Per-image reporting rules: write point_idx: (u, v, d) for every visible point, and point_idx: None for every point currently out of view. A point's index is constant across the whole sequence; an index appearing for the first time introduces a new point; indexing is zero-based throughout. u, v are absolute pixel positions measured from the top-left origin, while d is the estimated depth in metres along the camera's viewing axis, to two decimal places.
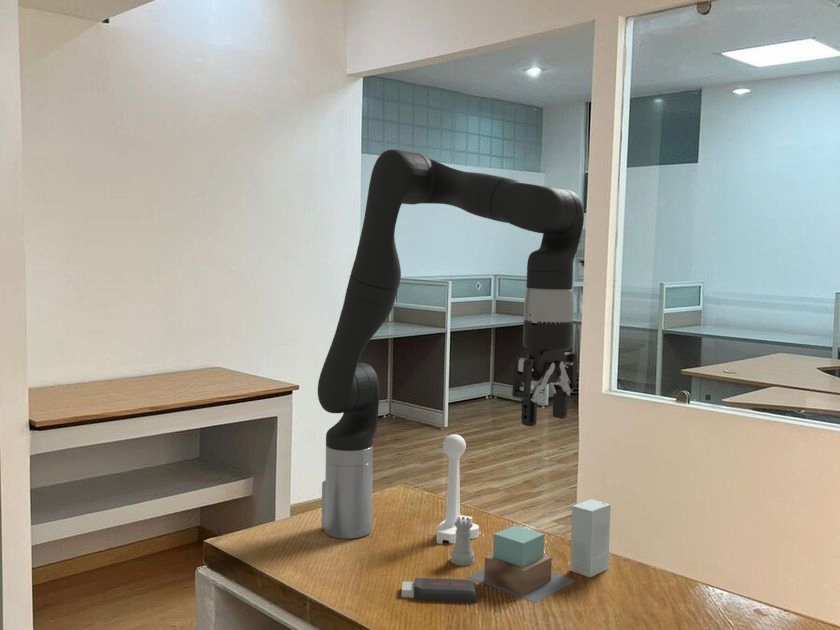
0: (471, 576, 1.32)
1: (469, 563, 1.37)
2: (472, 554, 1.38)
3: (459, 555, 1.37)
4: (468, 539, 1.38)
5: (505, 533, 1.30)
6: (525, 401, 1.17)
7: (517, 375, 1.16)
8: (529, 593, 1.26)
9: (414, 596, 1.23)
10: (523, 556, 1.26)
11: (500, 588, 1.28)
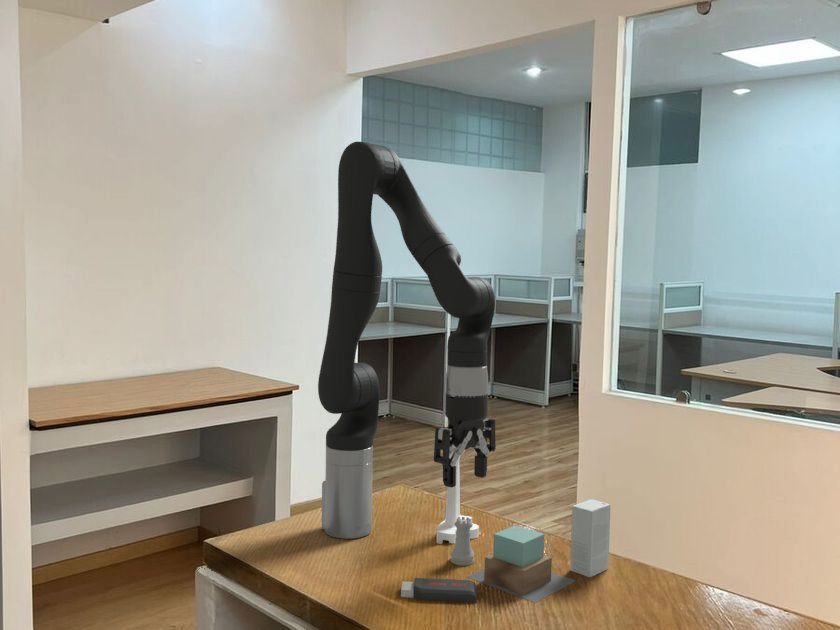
0: (471, 576, 1.32)
1: (469, 563, 1.37)
2: (472, 554, 1.38)
3: (459, 555, 1.37)
4: (468, 539, 1.38)
5: (505, 533, 1.30)
6: (445, 465, 1.34)
7: (437, 443, 1.33)
8: (529, 593, 1.26)
9: (414, 596, 1.23)
10: (523, 556, 1.26)
11: (500, 588, 1.28)
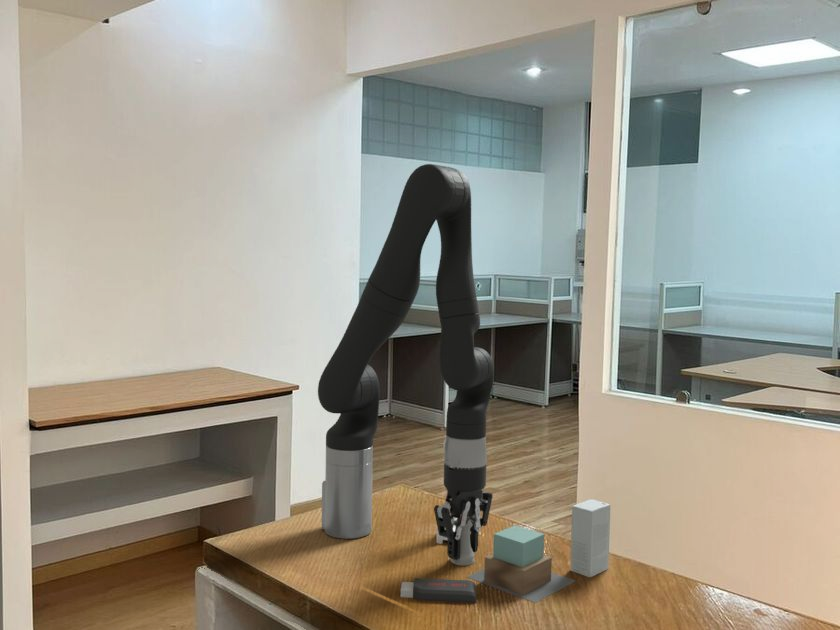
0: (471, 576, 1.32)
1: (469, 563, 1.37)
2: (472, 554, 1.38)
3: (460, 555, 1.37)
4: (468, 539, 1.38)
5: (505, 533, 1.30)
6: (450, 539, 1.36)
7: (439, 521, 1.34)
8: (529, 593, 1.26)
9: (413, 596, 1.23)
10: (523, 556, 1.26)
11: (500, 588, 1.28)
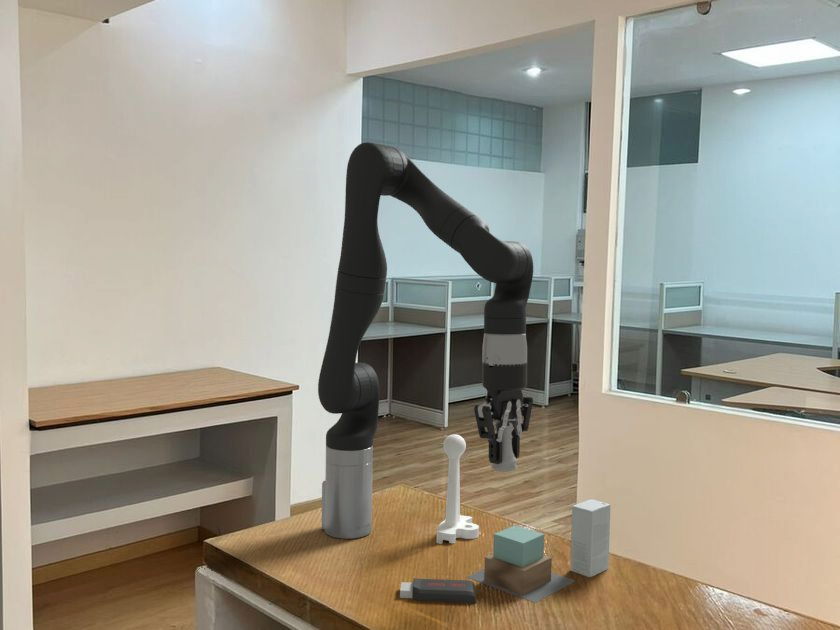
0: (471, 576, 1.32)
1: (511, 467, 1.30)
2: (514, 459, 1.31)
3: None
4: (510, 443, 1.31)
5: (505, 533, 1.30)
6: (491, 441, 1.29)
7: (479, 421, 1.27)
8: (529, 593, 1.26)
9: (413, 597, 1.23)
10: (523, 556, 1.26)
11: (500, 588, 1.28)
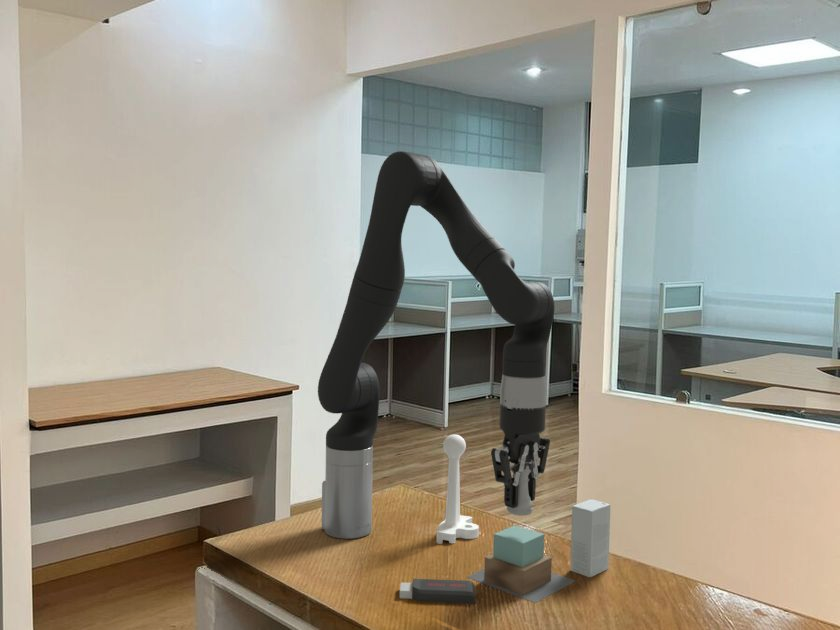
0: (471, 576, 1.32)
1: (527, 511, 1.28)
2: (530, 502, 1.29)
3: None
4: (526, 486, 1.29)
5: (505, 533, 1.30)
6: (507, 485, 1.27)
7: (496, 465, 1.25)
8: (529, 593, 1.26)
9: (412, 597, 1.23)
10: (523, 556, 1.26)
11: (500, 588, 1.28)
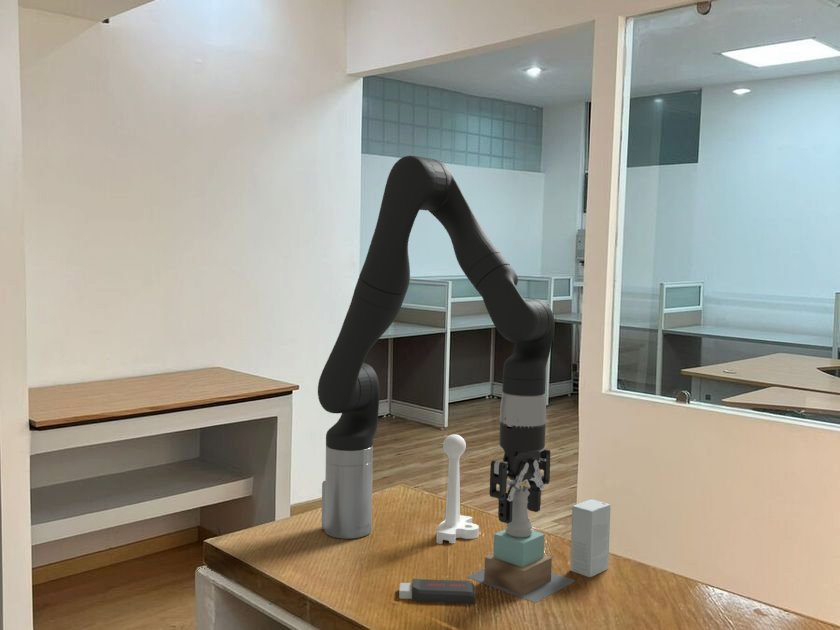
0: (471, 576, 1.32)
1: (526, 534, 1.29)
2: (529, 524, 1.29)
3: (517, 525, 1.28)
4: (525, 508, 1.29)
5: (506, 533, 1.30)
6: (501, 500, 1.26)
7: (493, 477, 1.25)
8: (529, 593, 1.26)
9: (412, 597, 1.23)
10: (523, 556, 1.26)
11: (500, 588, 1.28)
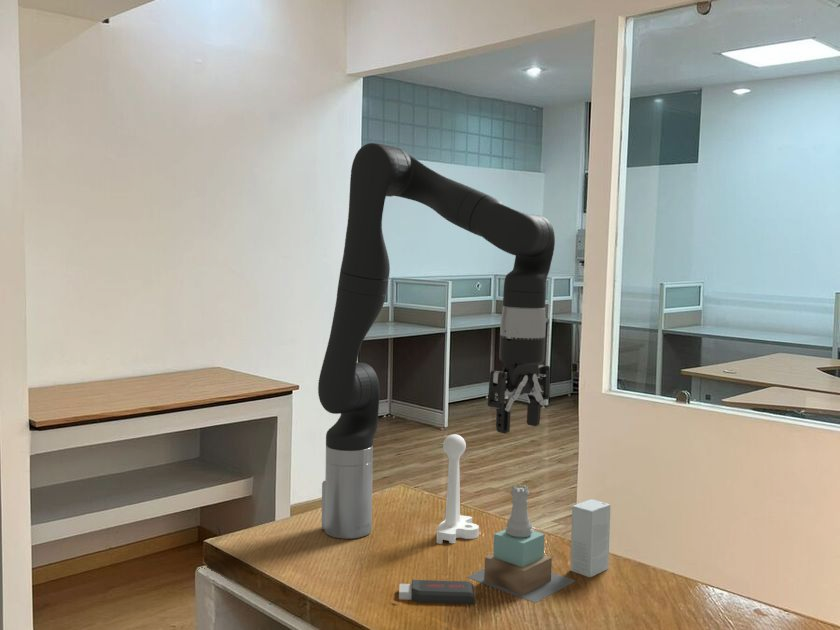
0: (471, 576, 1.32)
1: (526, 534, 1.29)
2: (529, 524, 1.29)
3: (517, 525, 1.28)
4: (525, 508, 1.29)
5: (506, 533, 1.30)
6: (499, 410, 1.27)
7: (492, 386, 1.26)
8: (529, 593, 1.26)
9: (412, 598, 1.23)
10: (523, 556, 1.26)
11: (500, 588, 1.28)
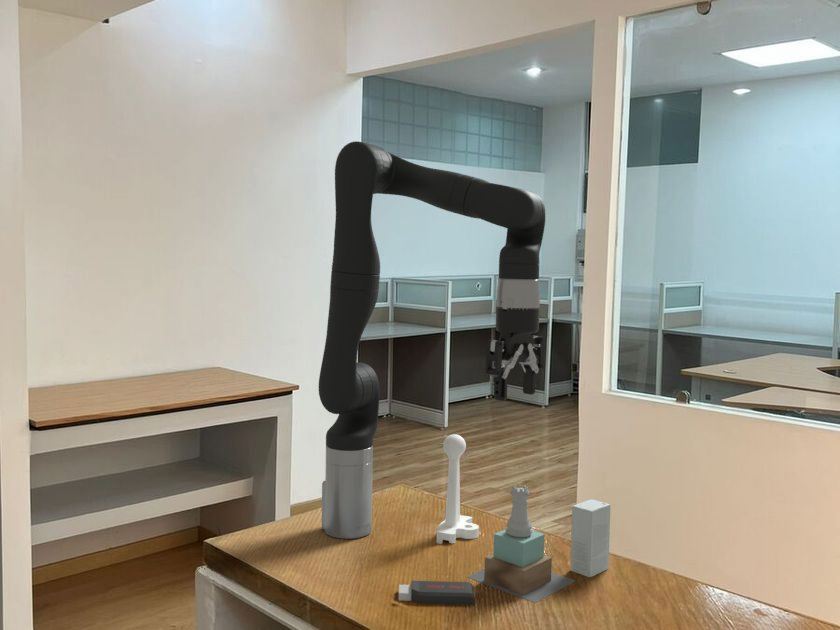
0: (471, 576, 1.32)
1: (526, 534, 1.29)
2: (529, 524, 1.29)
3: (517, 525, 1.28)
4: (525, 508, 1.29)
5: (506, 533, 1.30)
6: (497, 378, 1.33)
7: (489, 355, 1.32)
8: (529, 593, 1.26)
9: (411, 599, 1.22)
10: (523, 556, 1.26)
11: (500, 588, 1.28)
